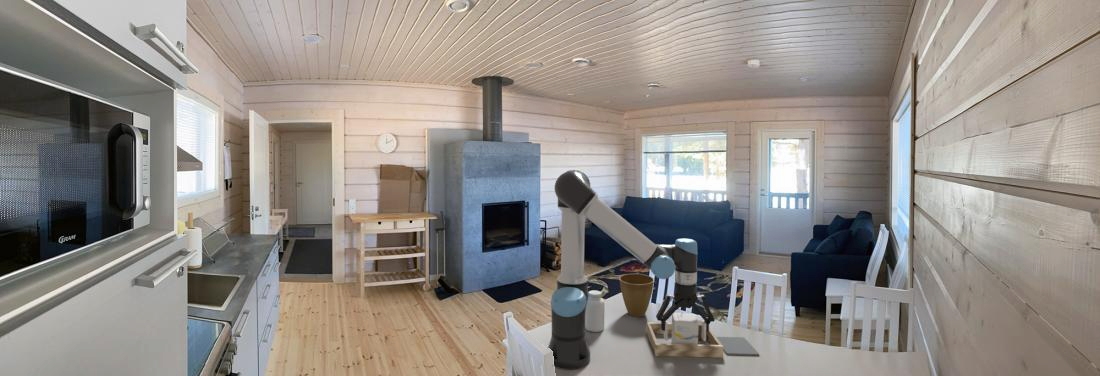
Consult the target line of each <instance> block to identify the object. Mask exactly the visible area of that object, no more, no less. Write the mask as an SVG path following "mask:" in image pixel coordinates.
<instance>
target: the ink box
mask: <svg viewBox="0 0 1100 376" xmlns="http://www.w3.org/2000/svg"><path fill="white" fill-rule="evenodd" d="M698 321H699V320H698V317H697V315H696V313H687V312H674V313H673V314H672V315H671V323H672V334H671V344H699V341H698Z"/></svg>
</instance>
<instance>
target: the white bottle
mask: <svg viewBox="0 0 1100 376" xmlns="http://www.w3.org/2000/svg"><path fill="white" fill-rule="evenodd" d="M588 293H589V298H588V302H587V307H586V313H585V331H588V332H592V333H593V332H594V333H598V332H602V331H603V330H605V300H604V299H603V298H602V295H603V294H602V291H599V290H594V289H593V290H588Z"/></svg>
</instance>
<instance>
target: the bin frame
mask: <svg viewBox="0 0 1100 376" xmlns="http://www.w3.org/2000/svg"><path fill="white" fill-rule="evenodd" d="M667 323H668V335H672V322H667ZM646 334H647V337H648V339H649V342H650V344H651V347H652V350H653V352H654V355H655V356H657V357H689V358H720V359H721V358H724V350H723V345H722V344H721V343H720V341H719V340H718V339H717V337H718V336H716V335H715V333H714V332H713V330H712V329H711V328H710V327H709V331H707V335H706V340H707V341H708V342H709V344H699V343H698V344H672V343H658V340H657V337H656V335H655V334H661V335H662V334H663V335H664V330H662V329H661V322H652V321H651V322H649V321H648V322H646Z"/></svg>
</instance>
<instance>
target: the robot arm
mask: <svg viewBox="0 0 1100 376" xmlns="http://www.w3.org/2000/svg"><path fill="white" fill-rule="evenodd" d="M554 193H555V195H556V197H557V208H558V209H559V210H560V211H561V237H560V238H561V239H560V241H561V244H560V246H561V250H560V252H561V255H560V257H561V258H560V260H561V261H560V266H561V267H560V274H559V275H558V276H557V277H556V290H555V291H553V293H552V295H551V299H550V307H551V338H550V341H549V342H548V343H549V344H548V347H547V349H548V348H550V349H551V350H552V351H553V356H554V365H555V366H554V367H555V368H559V369H563V370H576V369H581V368H583V367H585V366H587V365H588V364H589V363H590V362H591V351H590V347H589V344H588V342H587V338H586V329H585V313H586V307H587V302H588V298H589V293H588V292H589V287H588V286H589V283H588V282H589V278H588V277H587V276H586V274H585V231H586V230H585V228H586V226H585V223H586V222H585V219H586V218H587V219H588V220H589V221H590V222H592V223H593V224H594V225H596V226H597V227H598V228H599V229H600V230H601V231H603V233H605V234H606V235H608V236H609V237H610V238H611V239H612V240H614V241H615V242H617V244H619V245H620V246H621V247H622V248H624V249H625V250H626V251H627V252H629V253H630V254H631V255H633V256H634V257H635V258H636V259H638V260H639V262H641V264H642V265H643V266H645V267H646V268H648V269H649V270H650V271H651V273H652V274H653V275H654V276H655V277H656V278H658V279H659V280H666V279H670V278H671V277H672V276H673V275H674V281H675V282H674V294H671V295H670V294H668V293H666V294H665V295H664V297H665V298H664V300H663V302H662V304H661V306H660V308H659V310H658V312H657V313H656V315H655V317H656V319H657V321H659V322H660V323H661V329H662V330H664V334H663V338H664V341H668V335H669V334H668V323H669V322H668V320H669V319H670V318H671V317H672V314H673V313H676V311H677V310H679V308H681V309H691V308H693V309H694V310H695V311H696V313H697V314H698V315H700V317H701V318H702V320H701V321H702V339H703V342H707V338H706V331H709V328H710V324H711V322H715V321H716V320H715V317H714V315H713V313H712V312H711V309H710V307H709V306H708V303H707V298H706V296H705V295H704V293H703V294H699V295H697V288H698V285H697V282H698V255H699V253H698V242H697V240H694V239H692V238H685V237H684V238H677V239H675V243H674V244H659V243H658V244H657V243H654V242H653V241H652V240H650V238H648V237H647V236H646V235H644V234H643V233H642V232H641V231H640V230H638V229H637V228H636V227H634V226H633V225H632V224H631V223H630V222H628V221H627V219H625V218H623V217H622V216H621V215H620V214H619V213H618V212H616V211H615V210H613V209H612V208H611V206H609V205H608V204H606V203H605V202H604V201H603V200H601V199H600V198H599V195H598V192H596V191H595V190H594V189H593V188H592V186H591V182H590V179H589V177H588V175H586V173H584V172H582V171H581V170H576V169H569V170H567V171H565V172H562V174H560V175H559V176H558V178H557V179H556V180H555V182H554ZM672 301H674V302H673V303H672V305H671V306H670V307H669V305H670V303H671V302H672ZM697 301H699V302H700V303H701V304H702V306H703V309H704V311H705V312H706V314H707V316H706V315H705V314H704V313H703V311H702V310H701V309H700V308H699V307H698V305H697V304H696V302H697Z"/></svg>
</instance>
